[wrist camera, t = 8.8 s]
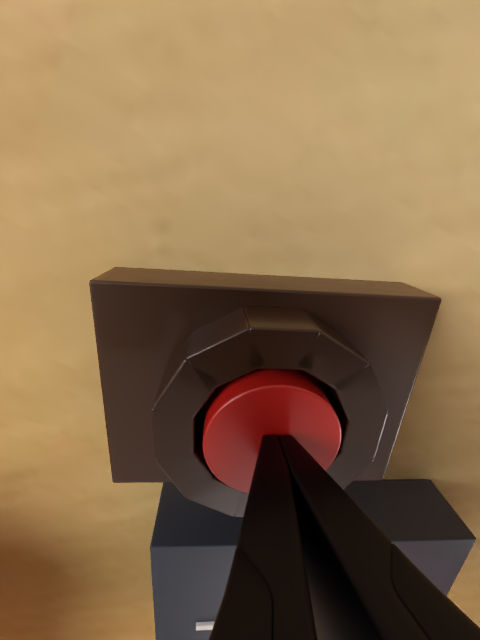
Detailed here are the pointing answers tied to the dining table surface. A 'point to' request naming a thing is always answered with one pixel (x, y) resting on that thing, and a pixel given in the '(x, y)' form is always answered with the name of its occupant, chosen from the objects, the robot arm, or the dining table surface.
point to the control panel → (223, 531)
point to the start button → (266, 421)
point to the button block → (249, 364)
